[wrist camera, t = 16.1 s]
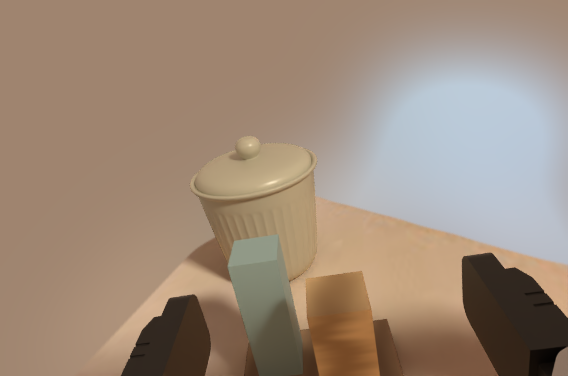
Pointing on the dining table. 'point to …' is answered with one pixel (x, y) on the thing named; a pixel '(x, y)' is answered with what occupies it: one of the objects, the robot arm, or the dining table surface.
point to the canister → (262, 198)
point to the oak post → (341, 325)
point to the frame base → (282, 315)
